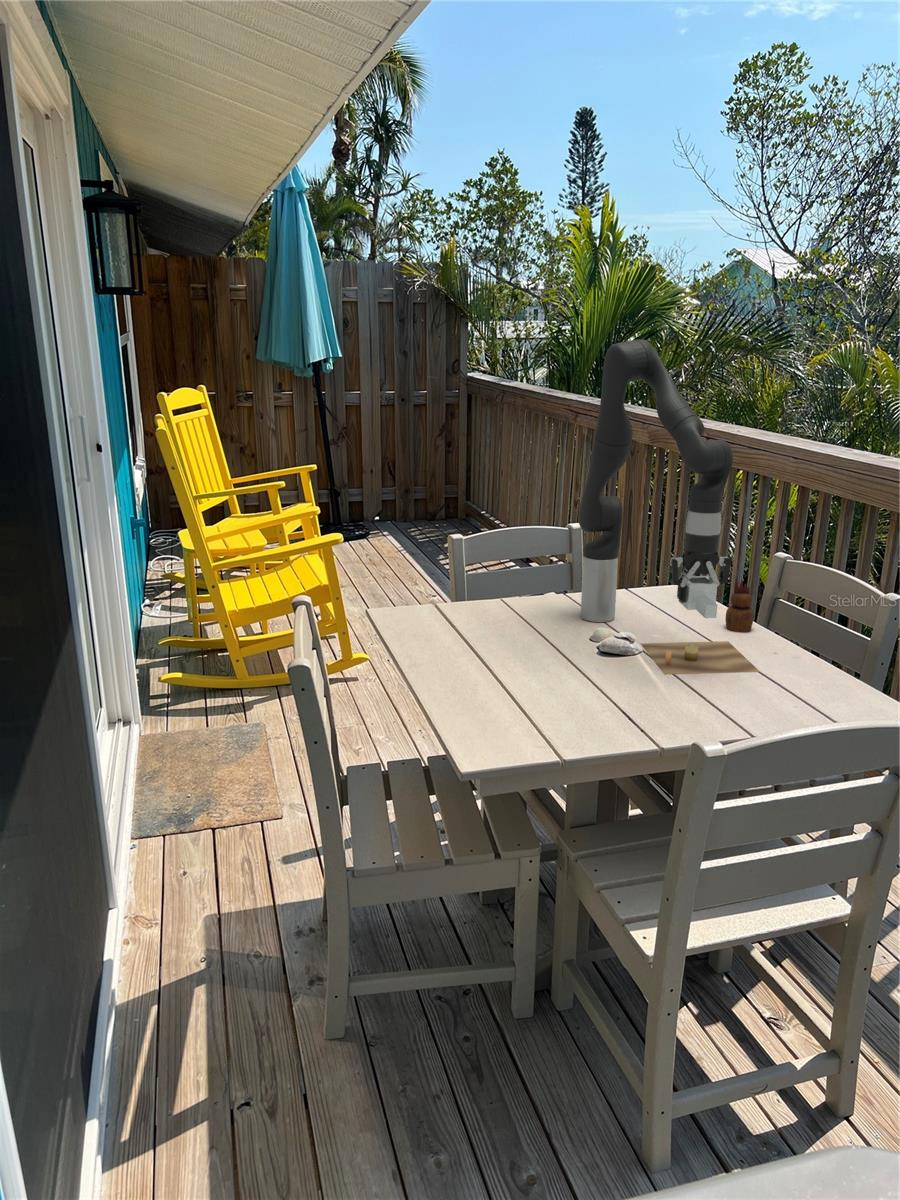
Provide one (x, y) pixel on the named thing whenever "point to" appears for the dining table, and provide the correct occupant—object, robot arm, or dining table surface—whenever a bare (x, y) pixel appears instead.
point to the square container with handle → (701, 596)
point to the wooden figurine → (740, 610)
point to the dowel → (668, 658)
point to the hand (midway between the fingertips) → (696, 601)
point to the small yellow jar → (691, 651)
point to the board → (699, 658)
